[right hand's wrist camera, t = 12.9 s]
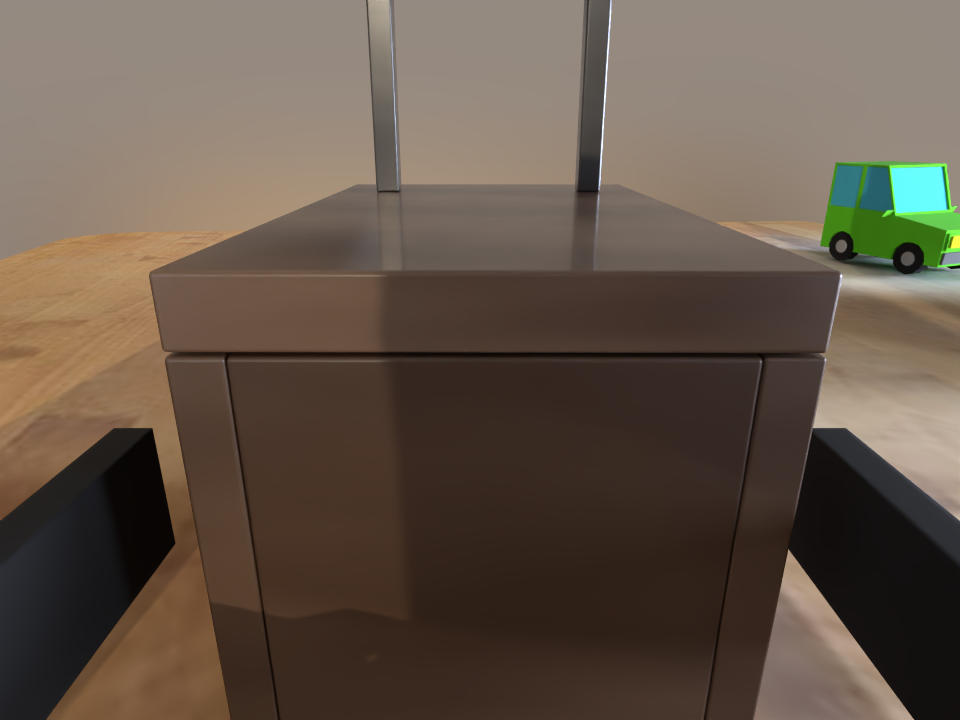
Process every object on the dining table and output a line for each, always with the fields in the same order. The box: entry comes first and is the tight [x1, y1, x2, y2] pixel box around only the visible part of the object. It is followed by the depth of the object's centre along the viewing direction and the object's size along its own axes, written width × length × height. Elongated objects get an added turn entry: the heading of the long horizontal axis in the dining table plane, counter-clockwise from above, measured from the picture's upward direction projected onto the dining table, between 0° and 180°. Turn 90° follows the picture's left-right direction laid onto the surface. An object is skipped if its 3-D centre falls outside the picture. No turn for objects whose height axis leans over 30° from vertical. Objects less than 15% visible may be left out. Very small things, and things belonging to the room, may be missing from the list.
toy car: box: [820, 161, 960, 274], centre depth 64 cm, size 10×13×10 cm
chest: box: [165, 352, 826, 720], centre depth 17 cm, size 14×10×10 cm
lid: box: [149, 0, 842, 353], centre depth 14 cm, size 15×10×9 cm, turn 0°
